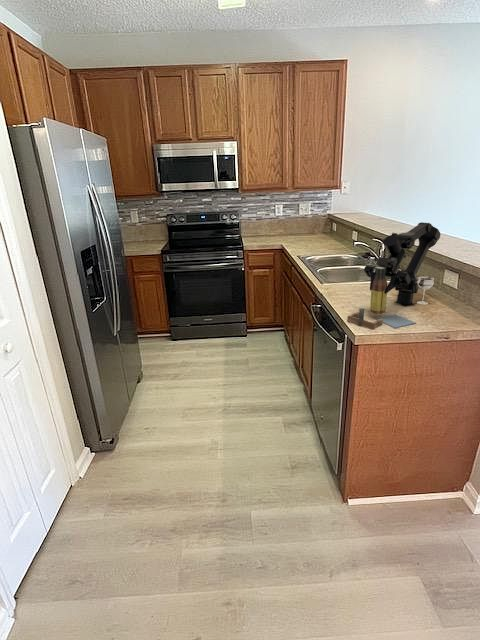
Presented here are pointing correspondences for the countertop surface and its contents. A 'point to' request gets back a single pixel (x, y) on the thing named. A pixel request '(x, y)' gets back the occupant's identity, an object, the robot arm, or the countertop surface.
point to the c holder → (359, 320)
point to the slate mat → (396, 321)
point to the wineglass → (425, 286)
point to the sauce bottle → (379, 291)
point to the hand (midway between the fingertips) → (377, 291)
